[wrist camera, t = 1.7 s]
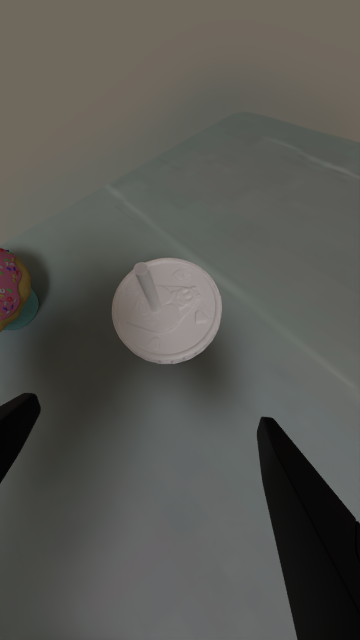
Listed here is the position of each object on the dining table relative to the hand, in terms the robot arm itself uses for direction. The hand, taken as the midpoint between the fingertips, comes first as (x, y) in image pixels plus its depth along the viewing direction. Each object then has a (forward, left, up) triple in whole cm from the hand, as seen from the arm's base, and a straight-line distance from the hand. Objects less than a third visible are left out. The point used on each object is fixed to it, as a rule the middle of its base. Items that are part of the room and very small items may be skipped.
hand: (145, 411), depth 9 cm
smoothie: (+5, +2, -12) cm, 13 cm away
